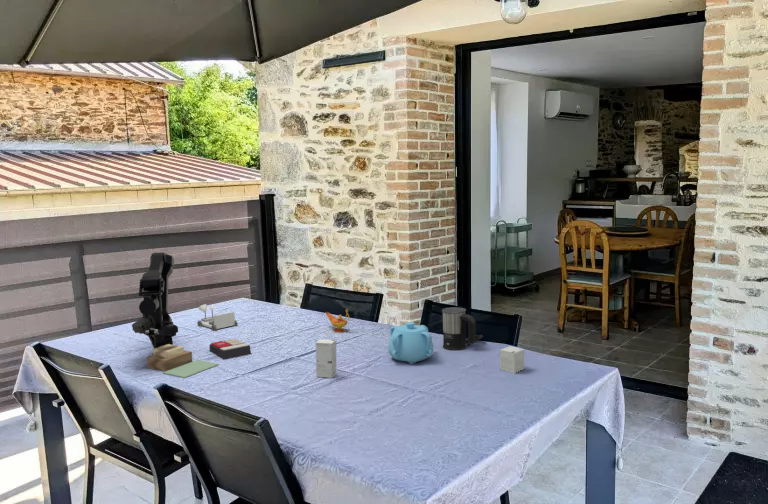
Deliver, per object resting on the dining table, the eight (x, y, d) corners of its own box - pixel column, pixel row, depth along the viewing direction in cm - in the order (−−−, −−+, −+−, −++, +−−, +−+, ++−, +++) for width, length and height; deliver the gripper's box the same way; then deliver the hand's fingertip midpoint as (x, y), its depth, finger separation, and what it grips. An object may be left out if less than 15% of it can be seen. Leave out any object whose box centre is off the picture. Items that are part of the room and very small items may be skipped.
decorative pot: (433, 352, 238) (433, 317, 236) (433, 365, 222) (432, 328, 220) (390, 352, 239) (389, 317, 237) (387, 365, 223) (386, 328, 222)
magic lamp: (332, 325, 283) (331, 301, 281) (356, 332, 269) (355, 307, 267) (319, 328, 278) (318, 303, 277) (343, 335, 264) (342, 310, 263)
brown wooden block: (147, 367, 228) (146, 357, 227) (173, 358, 238) (173, 348, 238) (166, 371, 223) (165, 360, 222) (192, 362, 233) (191, 351, 233)
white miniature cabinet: (315, 377, 213) (314, 342, 211) (321, 372, 217) (319, 338, 216) (332, 378, 211) (331, 343, 210) (337, 374, 215) (336, 339, 214)
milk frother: (439, 349, 242) (438, 311, 240) (451, 338, 256) (450, 302, 254) (475, 352, 236) (475, 313, 234) (485, 341, 251) (485, 305, 249)
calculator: (235, 337, 254) (250, 343, 241) (236, 348, 254) (251, 354, 242) (208, 342, 247) (222, 349, 235) (209, 353, 248) (223, 360, 235)
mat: (162, 373, 221) (162, 372, 221) (197, 360, 235) (197, 359, 235) (184, 378, 215) (184, 377, 215) (218, 364, 229) (218, 363, 229)
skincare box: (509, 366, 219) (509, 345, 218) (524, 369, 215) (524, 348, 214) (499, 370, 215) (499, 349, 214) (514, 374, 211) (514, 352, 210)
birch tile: (153, 355, 229) (152, 349, 229) (168, 350, 235) (168, 344, 235) (168, 358, 225) (167, 351, 225) (183, 353, 231) (183, 346, 231)
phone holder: (193, 305, 289) (215, 300, 297) (194, 325, 290) (216, 321, 298) (213, 310, 276) (236, 305, 284) (215, 332, 277) (237, 327, 286)
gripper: (118, 311, 229) (121, 352, 231) (152, 316, 220) (155, 359, 222) (143, 305, 239) (147, 345, 241) (177, 309, 229) (180, 351, 231)
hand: (156, 350), depth 233 cm, fingers closed
